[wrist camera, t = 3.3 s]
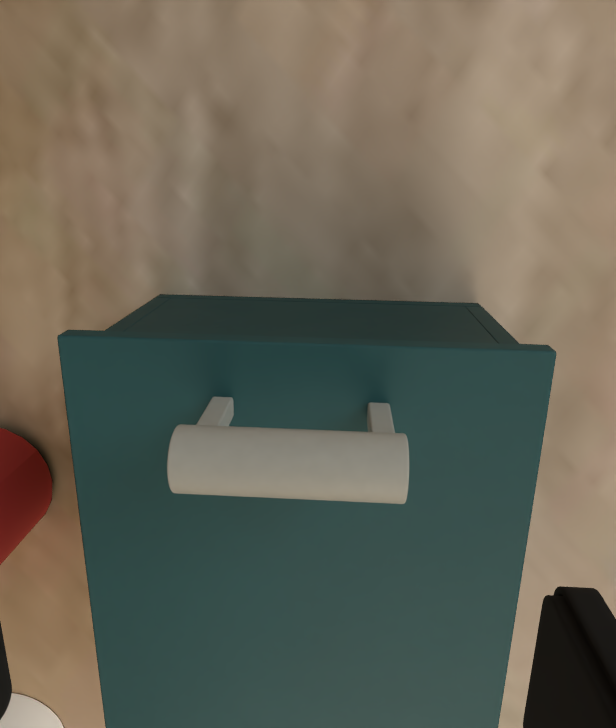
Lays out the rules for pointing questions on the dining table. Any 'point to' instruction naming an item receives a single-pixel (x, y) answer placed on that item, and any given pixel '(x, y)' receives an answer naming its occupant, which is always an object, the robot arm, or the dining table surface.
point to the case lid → (303, 524)
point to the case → (316, 319)
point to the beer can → (20, 490)
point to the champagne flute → (28, 714)
